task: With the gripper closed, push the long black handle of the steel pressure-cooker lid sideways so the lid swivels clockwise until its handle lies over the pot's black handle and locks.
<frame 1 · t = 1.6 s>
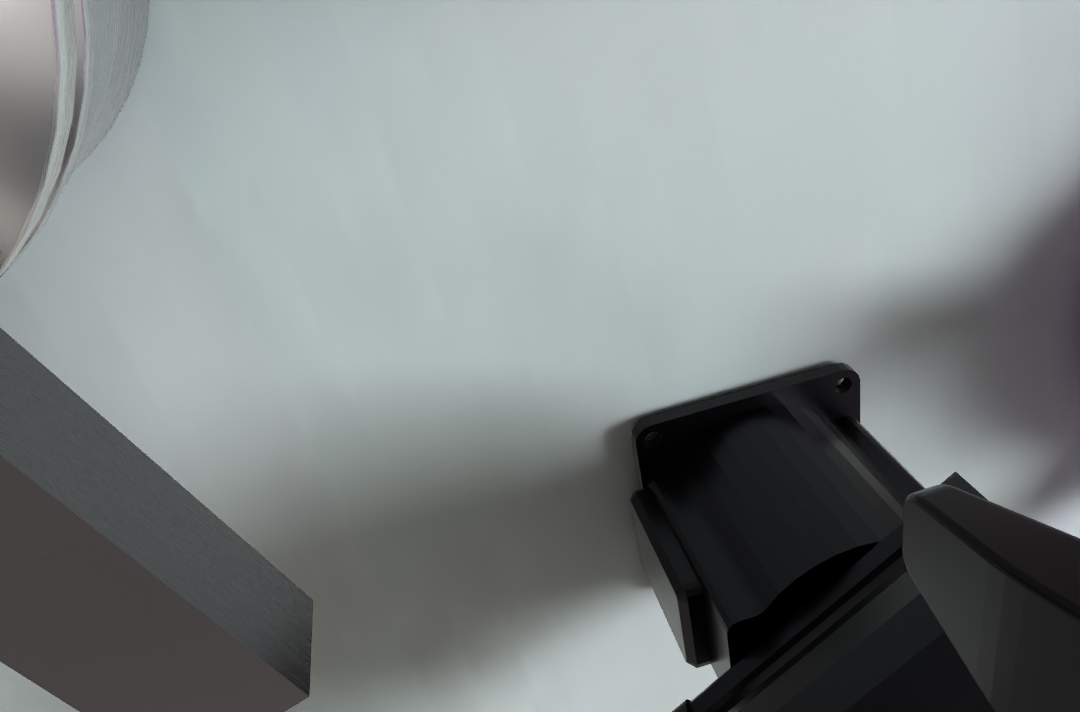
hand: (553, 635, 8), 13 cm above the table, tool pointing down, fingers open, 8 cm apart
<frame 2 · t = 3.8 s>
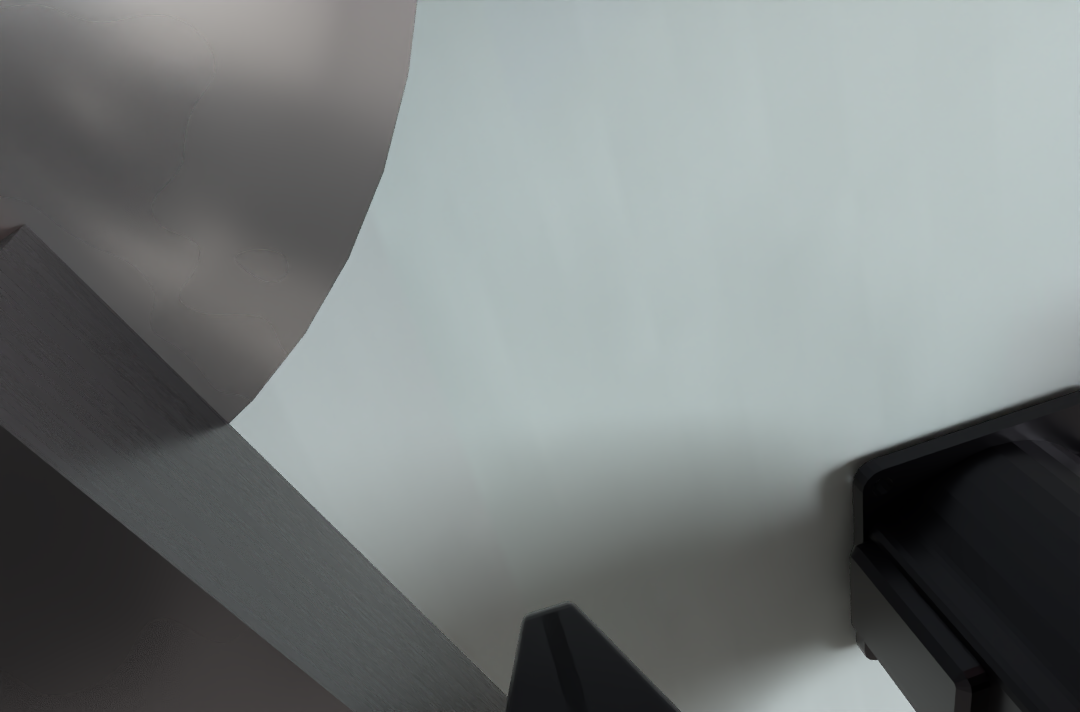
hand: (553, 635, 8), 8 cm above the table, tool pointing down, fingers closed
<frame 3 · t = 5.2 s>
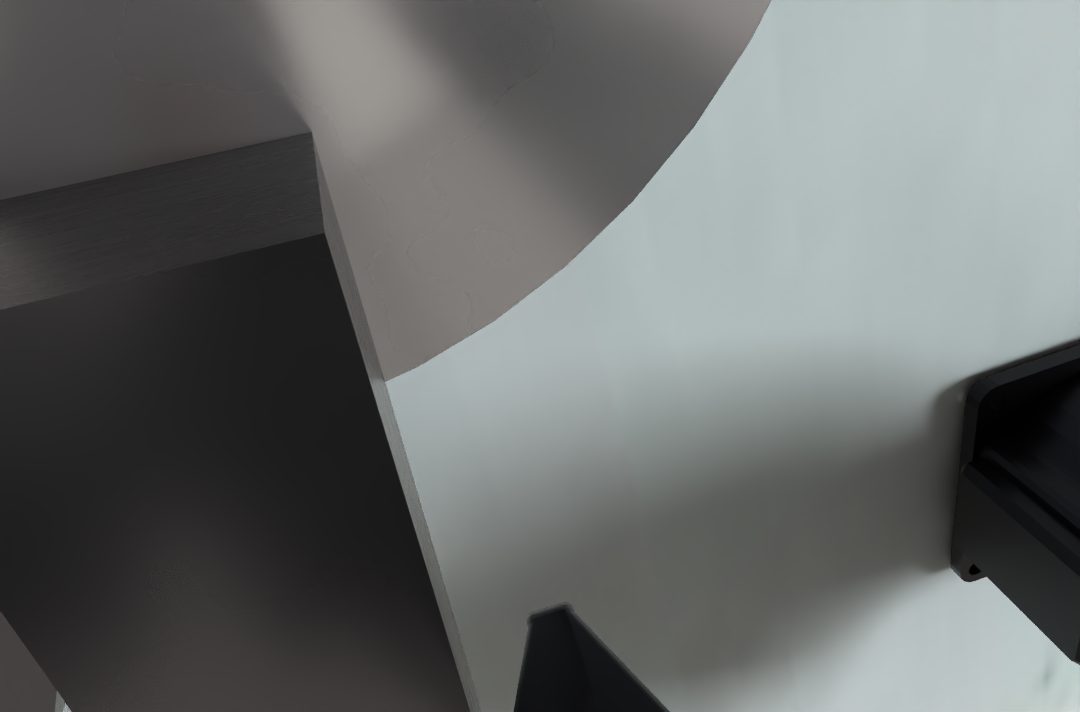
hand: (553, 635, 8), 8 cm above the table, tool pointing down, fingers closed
lid: (62, 38, 5), point 8 cm above the table, hinge at 26.8°, touching gripper
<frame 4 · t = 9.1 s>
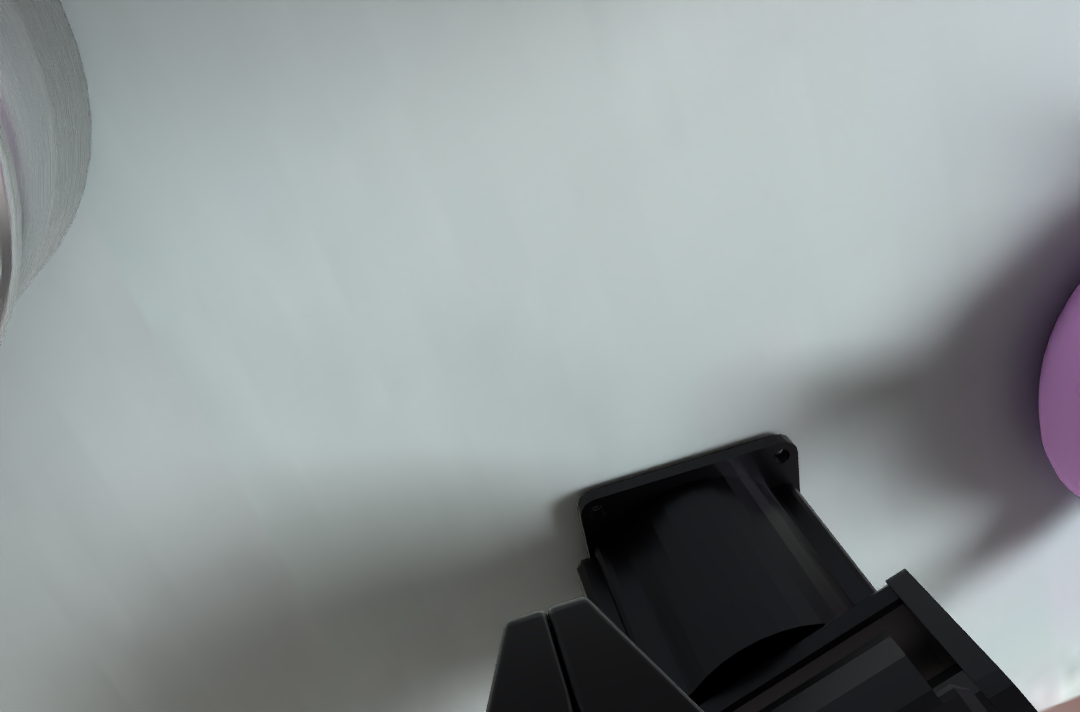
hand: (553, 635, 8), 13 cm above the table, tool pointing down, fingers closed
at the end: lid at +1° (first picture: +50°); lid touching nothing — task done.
